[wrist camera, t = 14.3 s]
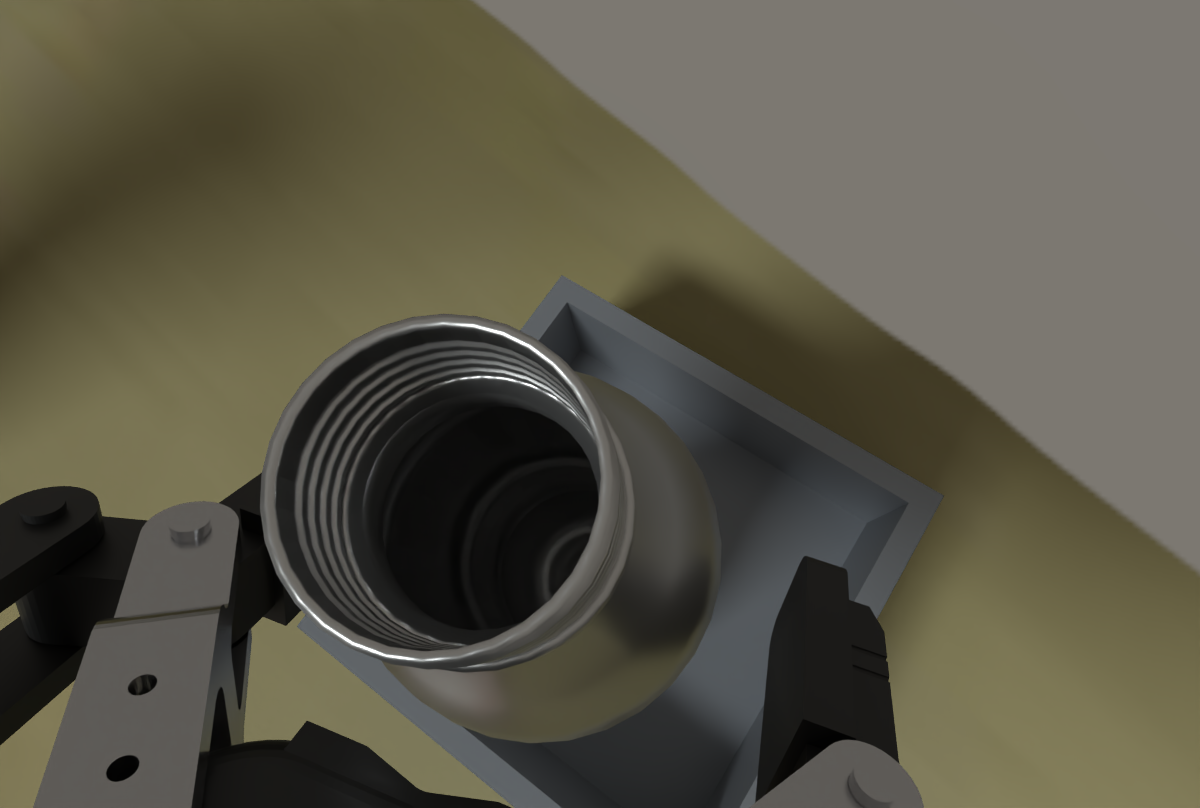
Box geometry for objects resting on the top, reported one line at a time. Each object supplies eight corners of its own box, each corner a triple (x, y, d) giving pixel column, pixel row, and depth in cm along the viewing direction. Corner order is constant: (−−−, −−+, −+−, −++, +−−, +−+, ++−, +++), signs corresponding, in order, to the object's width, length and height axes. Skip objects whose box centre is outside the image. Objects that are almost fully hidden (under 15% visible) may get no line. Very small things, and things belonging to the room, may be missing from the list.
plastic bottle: (575, 466, 27) (381, 107, 8) (719, 561, 25) (897, 388, 7) (480, 603, 26) (-18, 556, 7) (626, 713, 24) (509, 1051, 5)
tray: (685, 880, 23) (693, 956, 18) (367, 625, 27) (296, 626, 22) (887, 520, 26) (943, 495, 21) (578, 335, 30) (562, 275, 25)
